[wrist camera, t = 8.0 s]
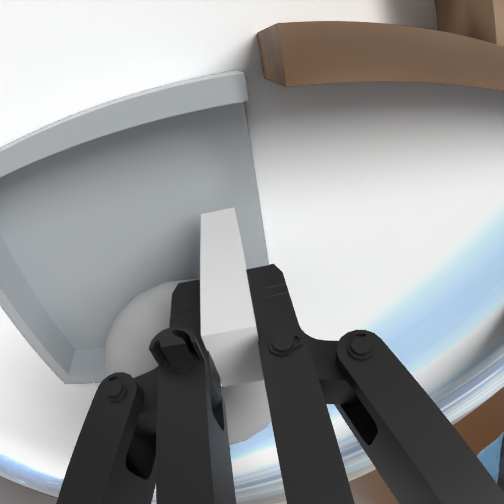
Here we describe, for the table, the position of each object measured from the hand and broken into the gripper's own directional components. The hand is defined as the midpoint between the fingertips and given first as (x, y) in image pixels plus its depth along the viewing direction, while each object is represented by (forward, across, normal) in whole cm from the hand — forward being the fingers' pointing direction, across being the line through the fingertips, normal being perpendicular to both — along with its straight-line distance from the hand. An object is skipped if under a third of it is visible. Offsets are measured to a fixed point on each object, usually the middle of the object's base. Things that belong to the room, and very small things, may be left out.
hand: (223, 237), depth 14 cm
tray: (+1, +6, +1) cm, 6 cm away
